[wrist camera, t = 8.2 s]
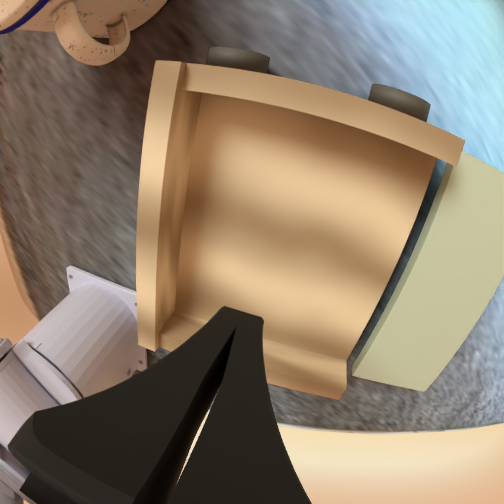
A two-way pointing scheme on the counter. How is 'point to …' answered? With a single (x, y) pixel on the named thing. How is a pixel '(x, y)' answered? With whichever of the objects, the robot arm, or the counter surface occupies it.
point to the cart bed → (276, 208)
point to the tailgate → (441, 280)
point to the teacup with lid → (81, 23)
